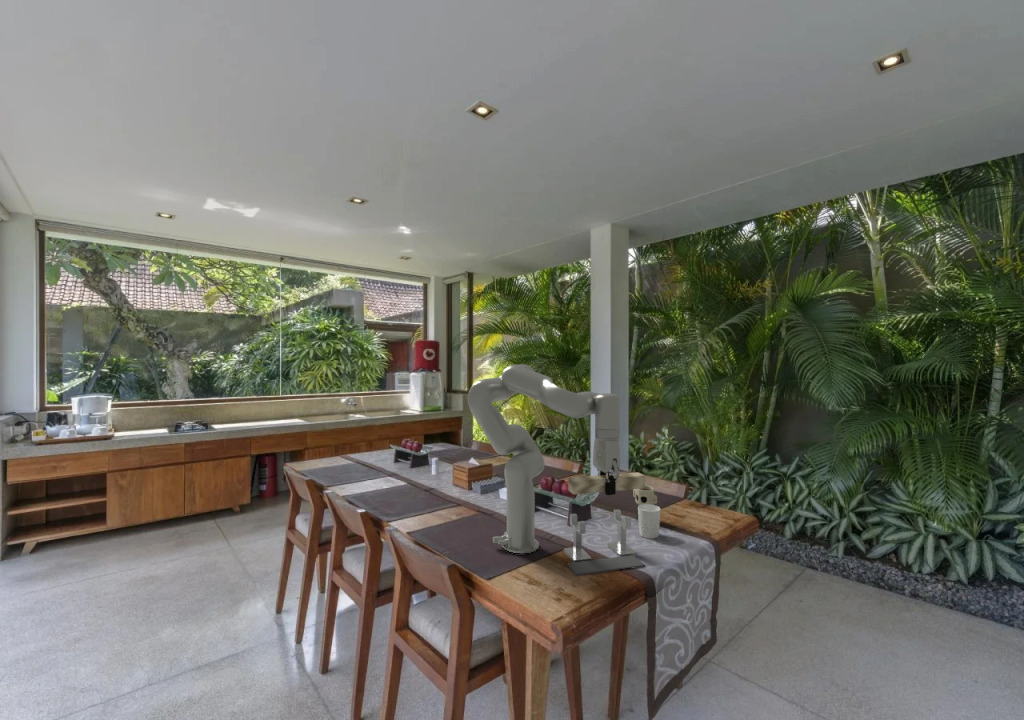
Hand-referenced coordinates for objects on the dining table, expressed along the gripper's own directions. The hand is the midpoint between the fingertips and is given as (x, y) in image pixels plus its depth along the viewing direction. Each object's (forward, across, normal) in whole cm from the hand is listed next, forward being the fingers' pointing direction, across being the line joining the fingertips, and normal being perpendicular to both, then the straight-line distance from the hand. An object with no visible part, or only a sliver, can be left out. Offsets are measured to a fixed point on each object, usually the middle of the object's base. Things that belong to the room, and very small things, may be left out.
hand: (606, 491), depth 145 cm
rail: (-1, 0, 0) cm, 1 cm away
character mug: (+24, -31, +32) cm, 50 cm away
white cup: (+24, -18, +26) cm, 39 cm away
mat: (+23, 0, 0) cm, 23 cm away
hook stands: (+23, -8, +2) cm, 25 cm away
